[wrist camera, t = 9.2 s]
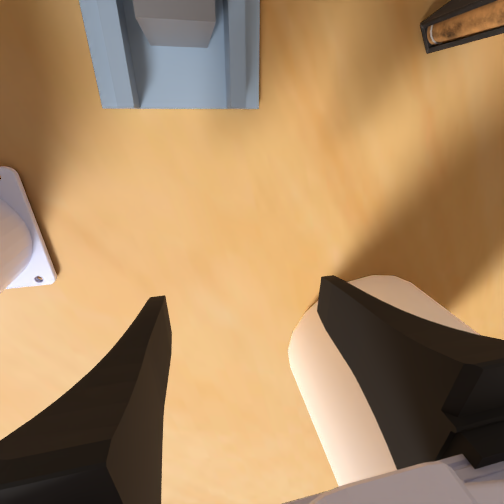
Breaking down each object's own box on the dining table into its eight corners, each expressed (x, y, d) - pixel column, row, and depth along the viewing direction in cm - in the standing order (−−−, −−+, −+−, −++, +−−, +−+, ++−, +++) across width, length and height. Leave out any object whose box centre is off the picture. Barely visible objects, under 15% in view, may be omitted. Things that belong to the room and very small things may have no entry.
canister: (424, 250, 26) (904, 528, 9) (424, 355, 34) (677, 612, 16) (269, 314, 26) (445, 746, 8) (306, 406, 33) (436, 726, 16)
